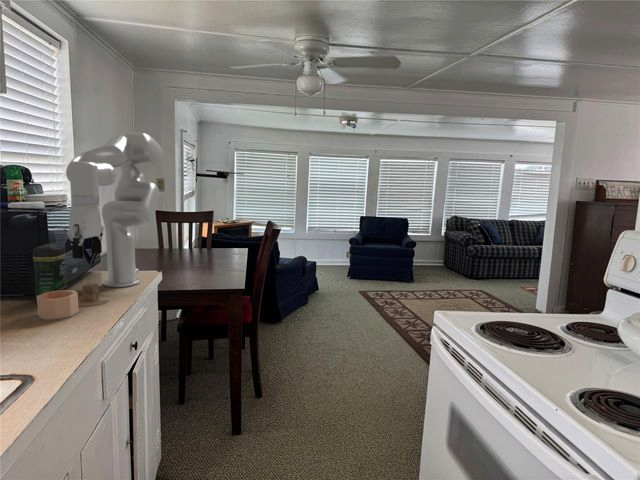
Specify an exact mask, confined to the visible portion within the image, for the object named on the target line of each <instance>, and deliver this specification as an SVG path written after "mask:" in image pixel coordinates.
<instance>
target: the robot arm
mask: <svg viewBox="0 0 640 480" xmlns="http://www.w3.org/2000/svg"><path fill="white" fill-rule="evenodd" d="M163 159H164V152H163V149H162V147H161V145H160V144H159V143H157V141H156V140H155V139H154V138H153V137H152V136H151V135H149V134H147V133H145V132H131V131H129V132H127V131H122V132H121V131H120V132H118V133H115V134H114V135H113V136H112V137H111V138H110V139H109V140H108V141H107V142H106V143H105V144H103V146H99V147H95V148H92V149H90V150H87V151H84V152H80V153H79V154H77V155H76V156H75V157H74V158H73V159H72V160H71V161H70V162H69V163H68V165H67V166H66V170H65V173H66V174H65V175H66V178H67V180H68V181H69V182H70V204H71V206H70V209H69V216H68V217H69V218H68V231H67V232H66V235H67V236H68V241H69V242H70V246H71V249H72V250H71V251H72V254H71V255H72V259H78V260H79V259H85V251H84V249H85V248H84V245H83V243H84V241H85V239H91V241H90V251H91V252H90V253H91V254H102V251H103V250H102V249H103V246H102V241H103V236H104V233H103V232H105V242H106V261H107V263H106V264H107V279H106V280H104V281H103V285H104V286H105V287H110V288H123V287H124V288H126V287H131V286H136V285H138V284H140V283H141V278H140V277H137V275H136V274H138V273H139V272H140V270H139V268H136V247H135V236H134V234H133V233H132V231H131V229H130V228H129V227H136V228H137V227H140V228H141V227H144V228H145V227H148V226H150V225H151V223H152V222H153V220H154V216H155V214H156V210H157V207H158V203H159V199H160V189H159V187H158V185H157V184H156V183H154V182H152V181H145V180H146V179H145V174H144V173H143V172H142V171H141V169H140V168H138V166H137V165H143V166H144V165H145V166H156V165H159V164H162V162H163ZM118 167H120V170H121V176H120V178H119V181H118V183H117V186H116V188H115V191H114V200H111V201H110V200H109V201H107V202H105V203H104V205H103V206H102V208H101V212H100V194H99V193H100V191H99V187H101V186H102V187H104V186H105V187H108V186H111V185H112V184H114V183H115V182H116V180H117V171H116V168H118ZM100 213H101V214H100ZM101 217H102V220H103V224H104V226H103V225H102V220H101ZM104 230H105V231H104Z"/></svg>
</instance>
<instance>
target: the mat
mask: <svg viewBox="0 0 640 480" xmlns="http://www.w3.org/2000/svg"><path fill="white" fill-rule="evenodd" d="M84 311H86V309H79V312H78V313H77V314H76V315H74V316H72V317H69V318H65V319H59V320H42V319H40V318H39V315H37V316H35V317H33V318H31V319H29V321H43V322H44V321H49V322H66V321H68V320H69V319H71V318H73V317H75V316H77V315H79V314H81V313H83V312H84Z"/></svg>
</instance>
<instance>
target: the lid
mask: <svg viewBox="0 0 640 480" xmlns="http://www.w3.org/2000/svg"><path fill="white" fill-rule="evenodd" d="M110 301H111V297H110V296H108V295H105V294H103V295H102V294H100V293H99V283H87V284H84V285H82V296H81V297H78V307H79V308H88V307H95V306H102V305H104V304H107V303H109V302H110Z"/></svg>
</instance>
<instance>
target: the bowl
mask: <svg viewBox="0 0 640 480" xmlns="http://www.w3.org/2000/svg"><path fill="white" fill-rule="evenodd" d="M78 298H79V294H78V291H76V290H72V289H71V290H69V289H68V290H59V291H52V292H46V293H43V294H41V295H38V296H37V301H36V302H37V316H39V318H40V319H42V320H59V319H65V318H69V317H72V316H74V315H76V314H77V313H78V312H79V308H80V307H78ZM77 315H78V314H77ZM77 315H76V316H77ZM74 317H75V316H74ZM72 318H73V317H72Z"/></svg>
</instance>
